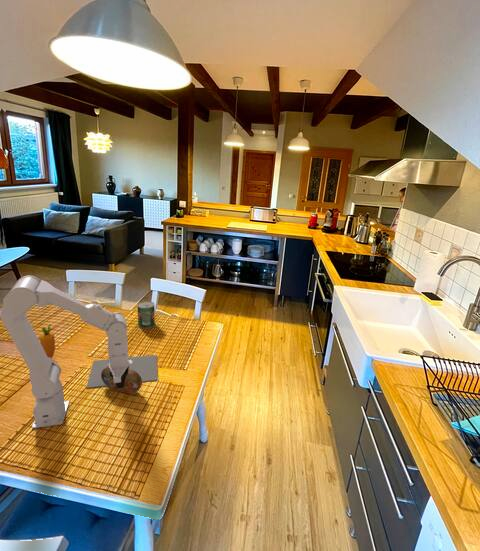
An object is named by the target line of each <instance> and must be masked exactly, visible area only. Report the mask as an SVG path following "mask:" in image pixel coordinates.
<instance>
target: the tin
mask: <svg viewBox="0 0 480 551" xmlns="http://www.w3.org/2000/svg"><path fill="white" fill-rule="evenodd" d="M101 378H102V380H103V382H104V384H105V385H106V386H105V387H108V389H111V390H113V391H114V390H115V391H117V392H121V393H125V394H127V395H135V394H137V393H138V391H140V389H141V388H142V385H143V382H142V379H141V377H140V375H139V374H138V373H137V372H136V371H134V370H131V369H129V371H128V374H127V376H126V378H125V384H124V388H117V387H116V384H115V383H114V380H113V378H112V377H111V376H110V368H109V366H108V367H106V368H105V369H103V371H102V373H101Z"/></svg>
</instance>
